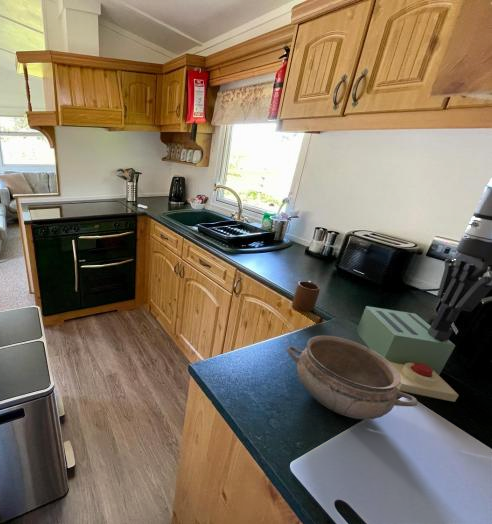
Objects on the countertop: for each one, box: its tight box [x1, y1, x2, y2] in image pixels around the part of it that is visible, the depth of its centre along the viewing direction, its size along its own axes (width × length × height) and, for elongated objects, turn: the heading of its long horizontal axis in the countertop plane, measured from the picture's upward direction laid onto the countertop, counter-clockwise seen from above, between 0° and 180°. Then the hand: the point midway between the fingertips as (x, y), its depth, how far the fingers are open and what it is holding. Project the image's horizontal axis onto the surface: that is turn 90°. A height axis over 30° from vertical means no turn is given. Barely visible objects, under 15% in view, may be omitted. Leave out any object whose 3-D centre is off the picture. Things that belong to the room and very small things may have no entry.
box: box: [390, 362, 460, 403], centre depth 75 cm, size 12×9×4 cm
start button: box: [412, 363, 433, 377], centre depth 74 cm, size 4×4×2 cm
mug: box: [291, 280, 321, 312], centre depth 112 cm, size 12×8×9 cm, turn 145°
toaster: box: [355, 305, 456, 376], centre depth 87 cm, size 14×17×10 cm
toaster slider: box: [428, 322, 454, 341], centre depth 79 cm, size 3×3×4 cm
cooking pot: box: [286, 335, 419, 420], centre depth 66 cm, size 25×19×12 cm
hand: (439, 329), depth 72 cm, fingers closed
